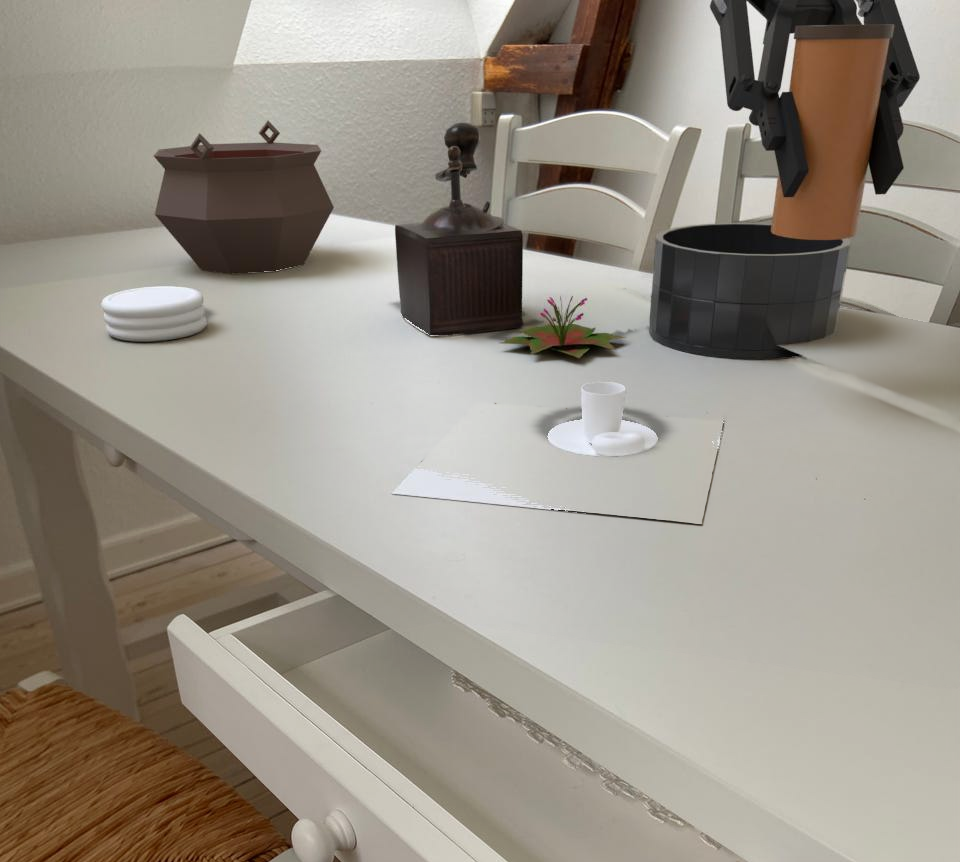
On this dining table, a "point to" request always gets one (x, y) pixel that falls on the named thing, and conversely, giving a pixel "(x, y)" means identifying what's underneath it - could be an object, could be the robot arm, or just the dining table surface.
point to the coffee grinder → (460, 258)
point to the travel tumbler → (833, 127)
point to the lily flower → (562, 334)
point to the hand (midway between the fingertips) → (842, 182)
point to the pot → (744, 290)
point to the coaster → (154, 313)
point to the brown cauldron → (243, 203)
